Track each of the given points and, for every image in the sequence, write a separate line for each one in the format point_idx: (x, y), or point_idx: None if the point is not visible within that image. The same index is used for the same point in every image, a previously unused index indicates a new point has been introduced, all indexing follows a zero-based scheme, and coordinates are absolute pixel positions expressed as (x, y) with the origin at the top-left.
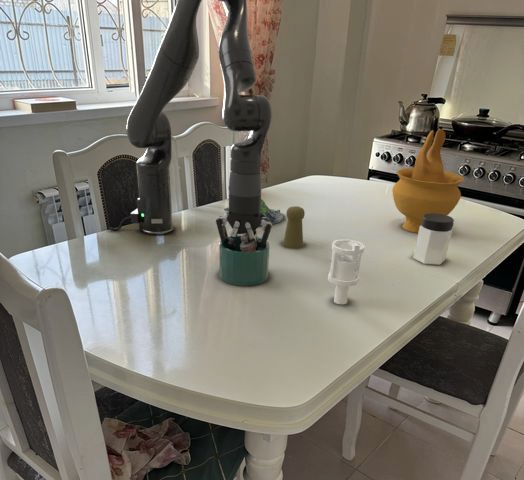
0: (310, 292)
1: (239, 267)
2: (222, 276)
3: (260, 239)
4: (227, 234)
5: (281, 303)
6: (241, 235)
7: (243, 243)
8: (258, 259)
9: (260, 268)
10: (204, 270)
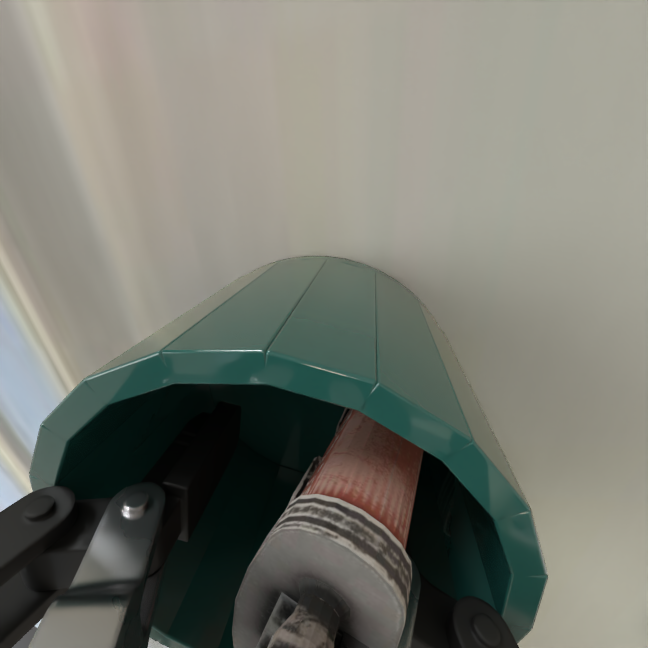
0: (632, 535)
1: None
2: None
3: (456, 477)
4: (22, 552)
5: None
6: (186, 364)
7: (255, 645)
8: None
9: None
10: (120, 324)
